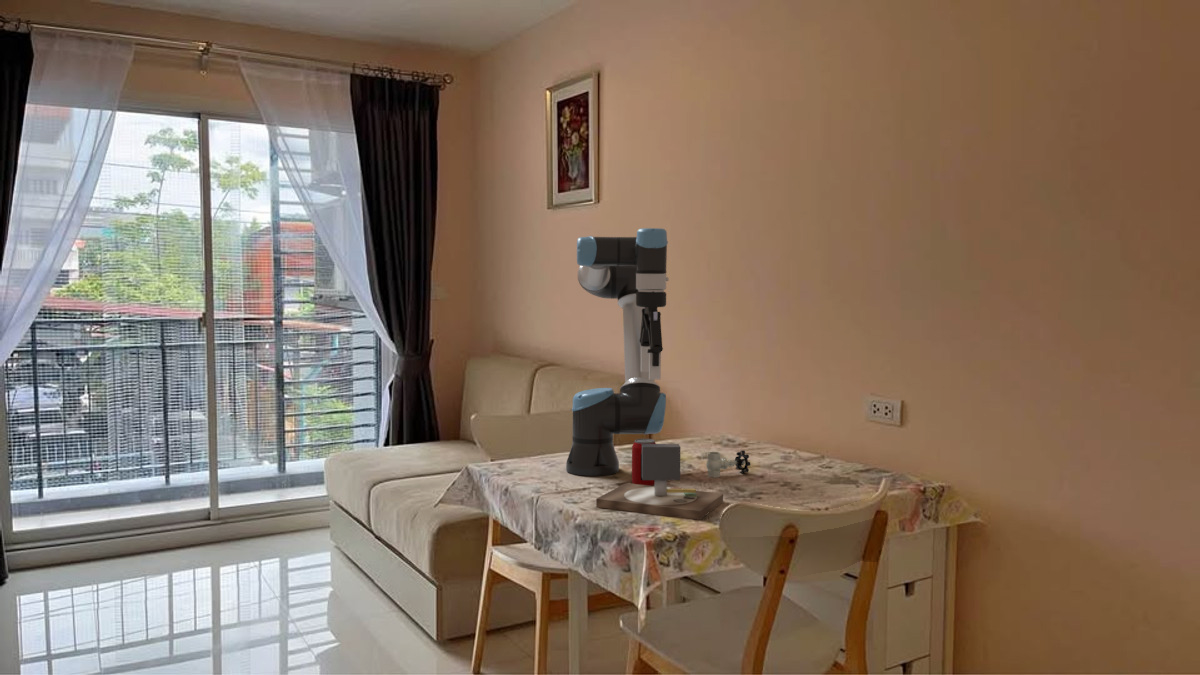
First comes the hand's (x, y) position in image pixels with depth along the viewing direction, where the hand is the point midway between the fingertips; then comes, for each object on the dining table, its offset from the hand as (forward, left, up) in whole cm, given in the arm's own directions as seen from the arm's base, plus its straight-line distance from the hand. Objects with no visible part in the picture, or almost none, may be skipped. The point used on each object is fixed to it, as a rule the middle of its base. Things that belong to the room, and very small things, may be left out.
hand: (650, 375), depth 215 cm
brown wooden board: (+6, -7, -30) cm, 32 cm away
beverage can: (-5, +10, -31) cm, 32 cm away
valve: (+11, +31, -31) cm, 45 cm away
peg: (+8, -7, -28) cm, 30 cm away
